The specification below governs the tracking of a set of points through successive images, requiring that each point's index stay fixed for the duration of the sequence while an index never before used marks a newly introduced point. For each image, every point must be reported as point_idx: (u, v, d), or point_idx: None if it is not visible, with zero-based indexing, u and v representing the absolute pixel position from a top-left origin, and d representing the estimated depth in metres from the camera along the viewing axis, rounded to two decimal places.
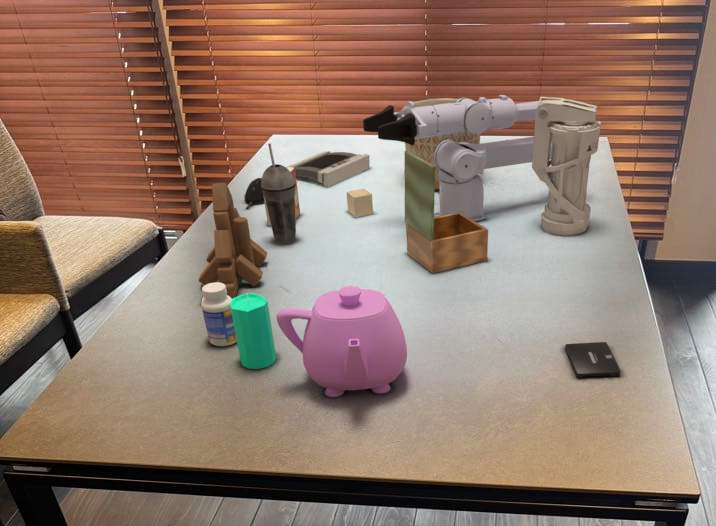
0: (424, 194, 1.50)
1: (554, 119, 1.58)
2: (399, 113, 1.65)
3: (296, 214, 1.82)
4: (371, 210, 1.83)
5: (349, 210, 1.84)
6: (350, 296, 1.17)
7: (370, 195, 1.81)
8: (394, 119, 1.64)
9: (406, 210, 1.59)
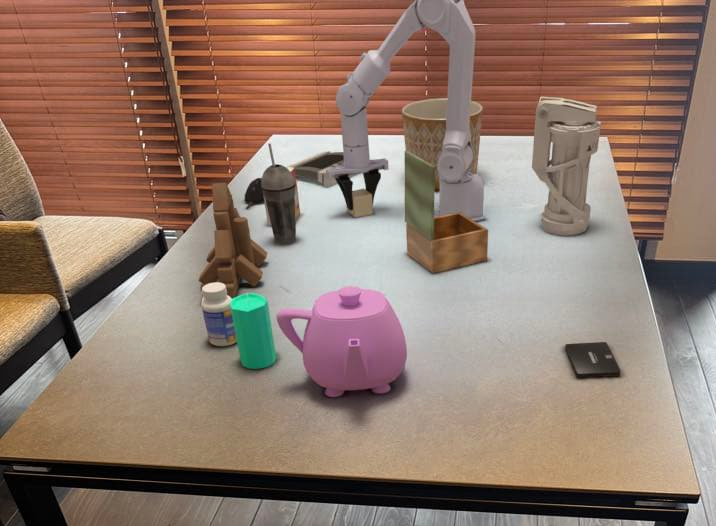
0: (424, 194, 1.50)
1: (554, 119, 1.58)
2: None
3: (296, 214, 1.82)
4: (371, 210, 1.83)
5: (349, 210, 1.84)
6: (350, 296, 1.17)
7: (370, 195, 1.81)
8: (367, 173, 1.80)
9: (406, 210, 1.59)
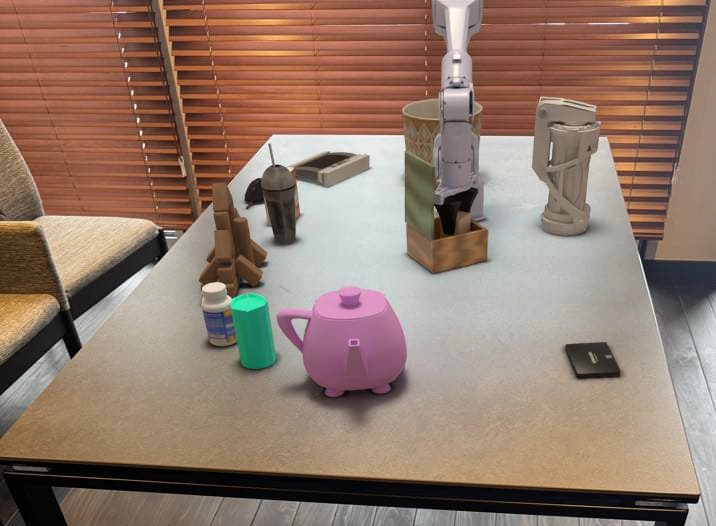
0: (424, 194, 1.50)
1: (554, 119, 1.58)
2: None
3: (296, 214, 1.82)
4: (469, 230, 1.61)
5: (444, 236, 1.60)
6: (350, 296, 1.17)
7: (469, 214, 1.59)
8: None
9: (406, 210, 1.59)
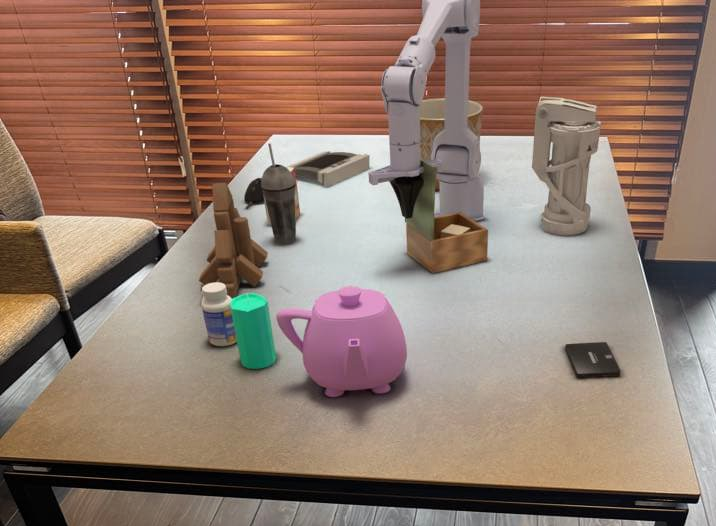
0: (424, 194, 1.50)
1: (554, 119, 1.58)
2: None
3: (296, 214, 1.82)
4: None
5: None
6: (350, 296, 1.17)
7: (469, 229, 1.61)
8: None
9: None
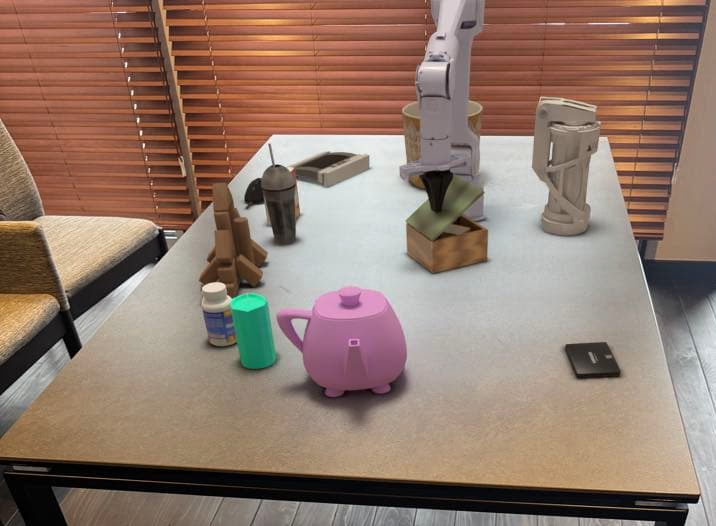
0: (454, 206, 1.54)
1: (554, 119, 1.58)
2: None
3: (296, 214, 1.82)
4: None
5: None
6: (350, 296, 1.17)
7: (469, 229, 1.61)
8: None
9: (416, 213, 1.60)
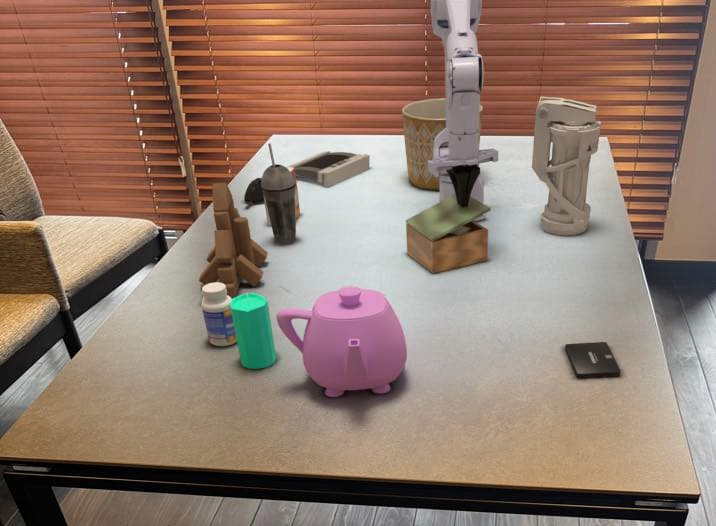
0: (458, 215, 1.56)
1: (554, 119, 1.58)
2: None
3: (296, 214, 1.82)
4: None
5: None
6: (350, 296, 1.17)
7: (469, 229, 1.61)
8: None
9: (418, 216, 1.60)
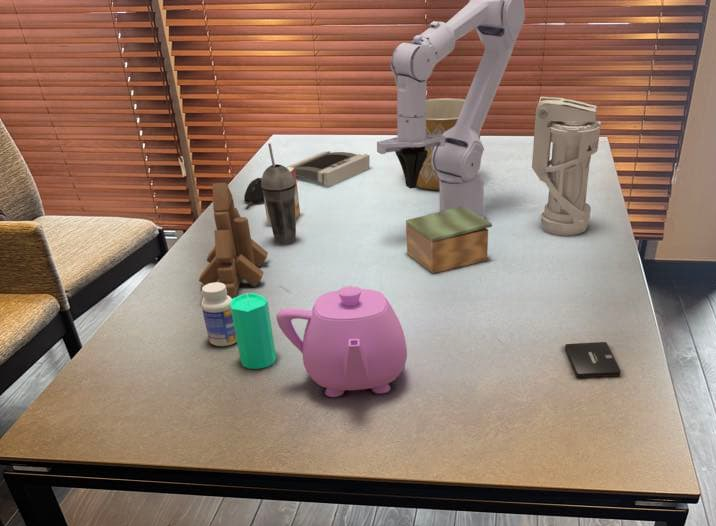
0: (460, 225, 1.57)
1: (554, 119, 1.58)
2: None
3: (296, 214, 1.82)
4: None
5: None
6: (350, 296, 1.17)
7: None
8: None
9: (418, 218, 1.61)
